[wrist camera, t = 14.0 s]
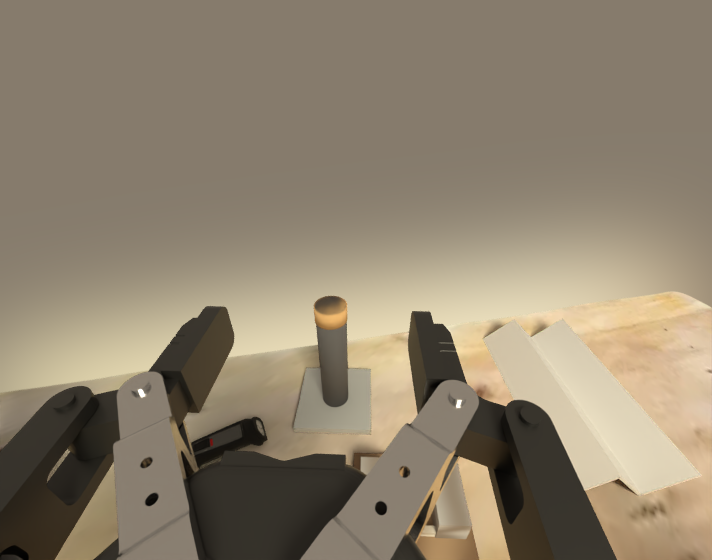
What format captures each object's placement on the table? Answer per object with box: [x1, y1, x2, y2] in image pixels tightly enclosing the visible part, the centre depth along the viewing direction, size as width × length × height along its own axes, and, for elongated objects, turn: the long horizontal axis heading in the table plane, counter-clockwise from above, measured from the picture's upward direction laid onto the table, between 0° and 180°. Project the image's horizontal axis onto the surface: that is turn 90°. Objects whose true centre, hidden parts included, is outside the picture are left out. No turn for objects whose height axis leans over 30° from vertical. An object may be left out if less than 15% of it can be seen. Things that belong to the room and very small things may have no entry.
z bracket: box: [483, 319, 702, 496], centre depth 44 cm, size 12×25×6 cm
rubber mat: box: [293, 368, 371, 435], centre depth 45 cm, size 10×10×1 cm
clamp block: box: [354, 453, 479, 560], centre depth 33 cm, size 12×10×4 cm
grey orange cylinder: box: [314, 296, 348, 407], centre depth 40 cm, size 4×4×16 cm
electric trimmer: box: [191, 417, 267, 468], centre depth 38 cm, size 4×16×3 cm, turn 117°
